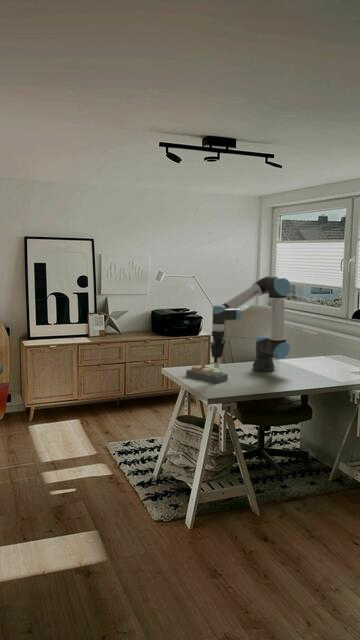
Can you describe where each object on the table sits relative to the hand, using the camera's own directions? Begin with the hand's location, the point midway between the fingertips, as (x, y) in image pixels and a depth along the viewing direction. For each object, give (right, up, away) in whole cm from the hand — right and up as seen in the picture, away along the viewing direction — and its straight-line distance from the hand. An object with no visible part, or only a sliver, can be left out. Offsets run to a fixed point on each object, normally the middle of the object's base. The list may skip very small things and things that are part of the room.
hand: (216, 367), depth 329 cm
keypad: (-6, -7, +7) cm, 11 cm away
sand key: (-6, -4, +6) cm, 10 cm away
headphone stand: (-6, -5, +28) cm, 29 cm away
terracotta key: (-12, -4, +11) cm, 17 cm away
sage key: (0, -5, +1) cm, 5 cm away
